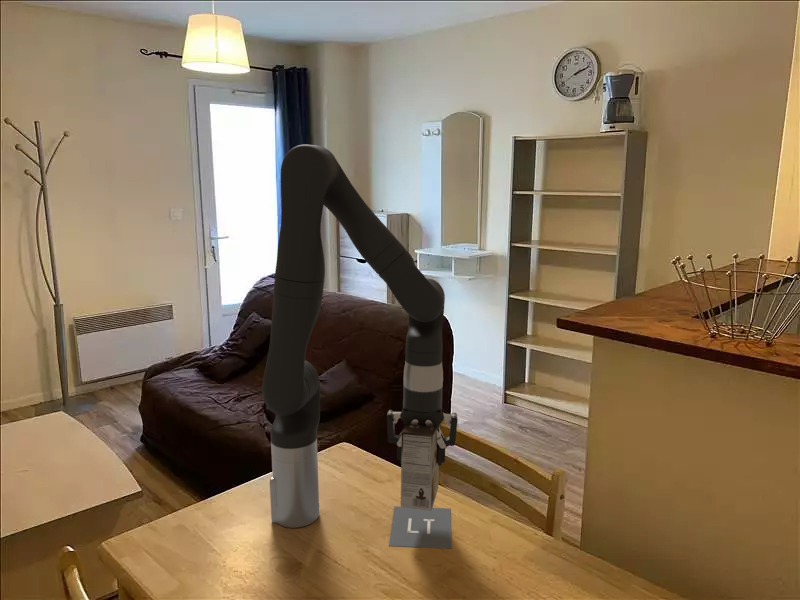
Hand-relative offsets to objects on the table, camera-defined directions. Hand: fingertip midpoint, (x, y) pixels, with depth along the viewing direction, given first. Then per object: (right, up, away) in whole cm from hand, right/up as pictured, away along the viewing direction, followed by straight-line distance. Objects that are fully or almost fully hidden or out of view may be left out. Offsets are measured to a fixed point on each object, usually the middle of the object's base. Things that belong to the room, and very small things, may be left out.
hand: (420, 462), depth 121 cm
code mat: (0, -14, +3) cm, 14 cm away
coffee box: (0, -8, +2) cm, 8 cm away
